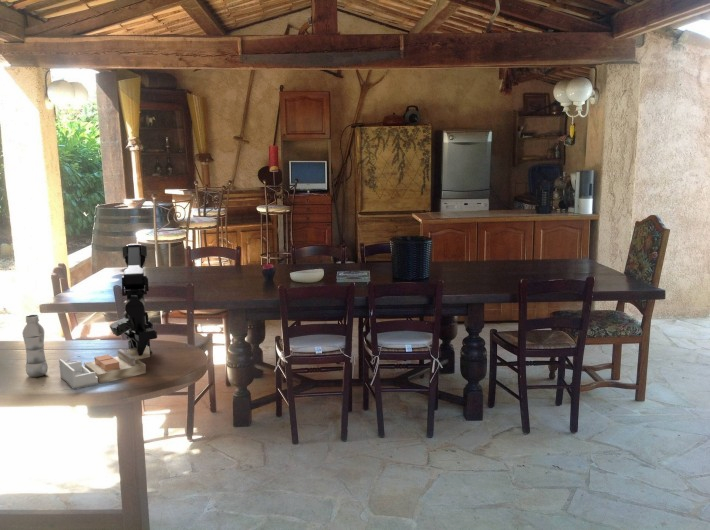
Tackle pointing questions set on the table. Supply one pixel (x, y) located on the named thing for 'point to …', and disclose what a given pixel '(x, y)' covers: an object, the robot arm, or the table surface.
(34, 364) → the plastic bottle
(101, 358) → the tile
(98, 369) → the board
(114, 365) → the tile
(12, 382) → the table surface
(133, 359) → the scraper
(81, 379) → the box
